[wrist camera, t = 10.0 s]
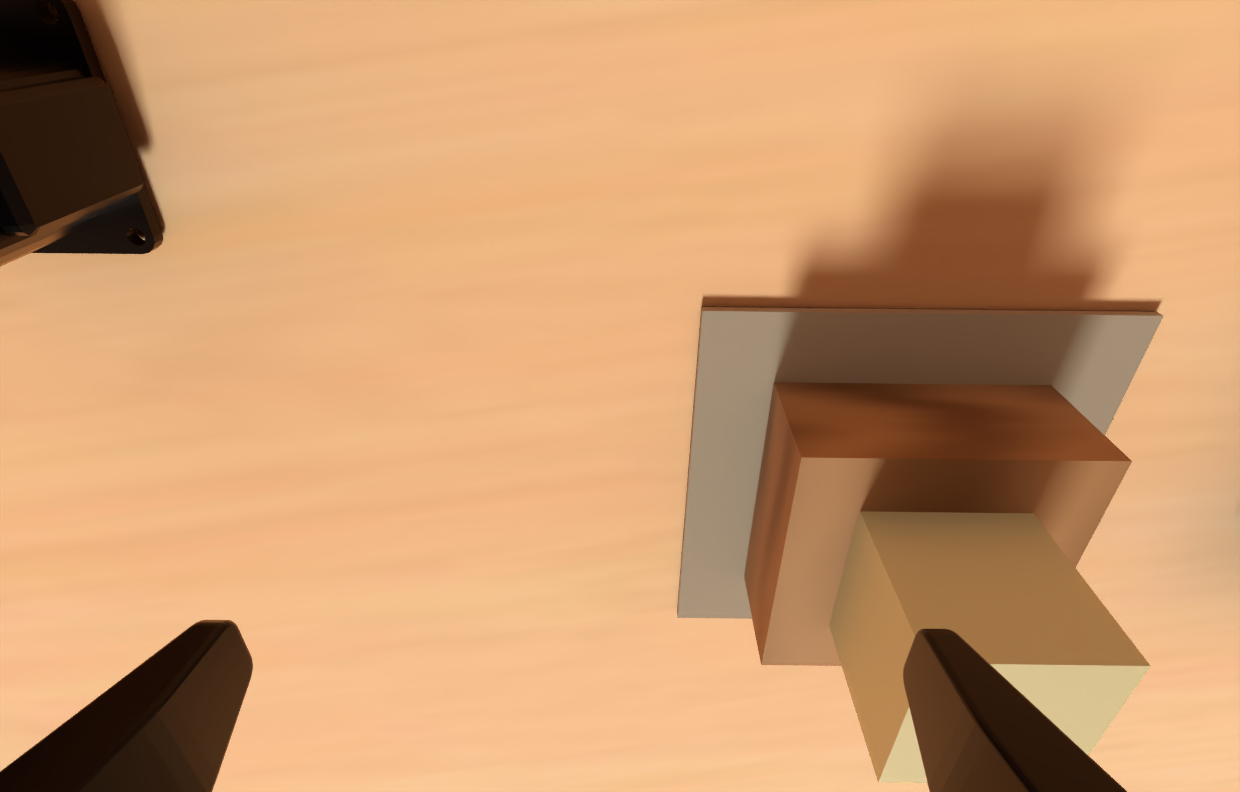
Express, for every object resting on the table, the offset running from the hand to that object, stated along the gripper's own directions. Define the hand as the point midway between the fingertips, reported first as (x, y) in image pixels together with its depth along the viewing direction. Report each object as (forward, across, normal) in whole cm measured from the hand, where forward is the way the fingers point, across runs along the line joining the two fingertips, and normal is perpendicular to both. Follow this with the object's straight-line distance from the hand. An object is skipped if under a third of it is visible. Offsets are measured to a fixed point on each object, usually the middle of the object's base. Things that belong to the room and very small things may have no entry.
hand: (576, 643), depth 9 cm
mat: (+13, -10, +8) cm, 18 cm away
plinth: (+13, -10, +8) cm, 18 cm away
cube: (+9, -10, +8) cm, 15 cm away
